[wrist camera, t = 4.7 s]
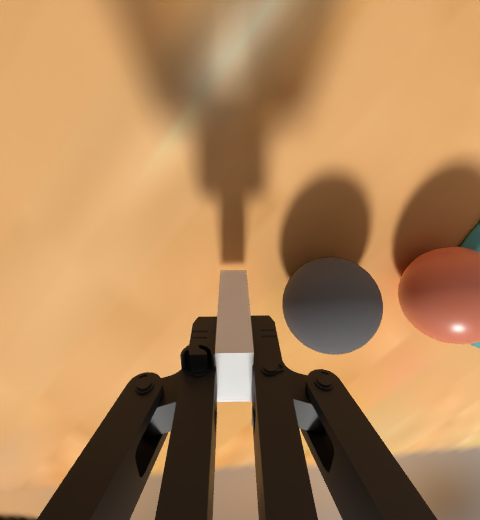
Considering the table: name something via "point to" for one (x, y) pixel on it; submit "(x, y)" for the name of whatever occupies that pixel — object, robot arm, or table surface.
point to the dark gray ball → (332, 305)
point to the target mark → (475, 241)
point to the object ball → (443, 294)
